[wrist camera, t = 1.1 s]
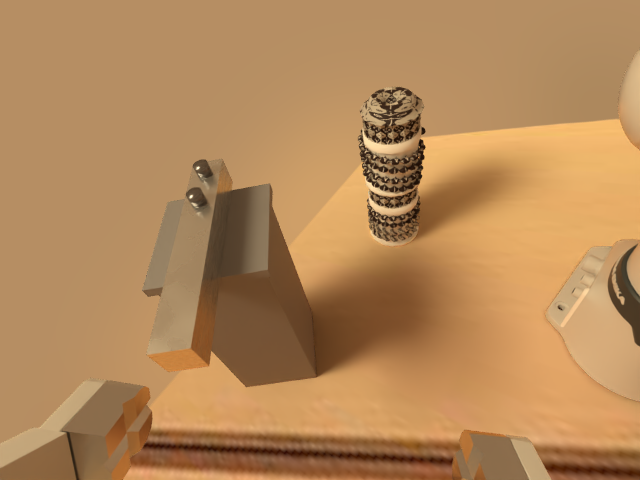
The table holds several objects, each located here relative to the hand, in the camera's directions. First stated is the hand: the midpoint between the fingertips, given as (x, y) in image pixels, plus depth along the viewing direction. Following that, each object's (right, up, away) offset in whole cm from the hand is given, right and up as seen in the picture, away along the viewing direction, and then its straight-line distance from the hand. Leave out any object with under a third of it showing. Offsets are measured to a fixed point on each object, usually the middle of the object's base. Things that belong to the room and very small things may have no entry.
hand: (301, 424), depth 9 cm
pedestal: (-5, -11, +44) cm, 46 cm away
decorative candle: (+14, +7, +56) cm, 58 cm away
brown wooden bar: (-9, +3, +23) cm, 25 cm away
